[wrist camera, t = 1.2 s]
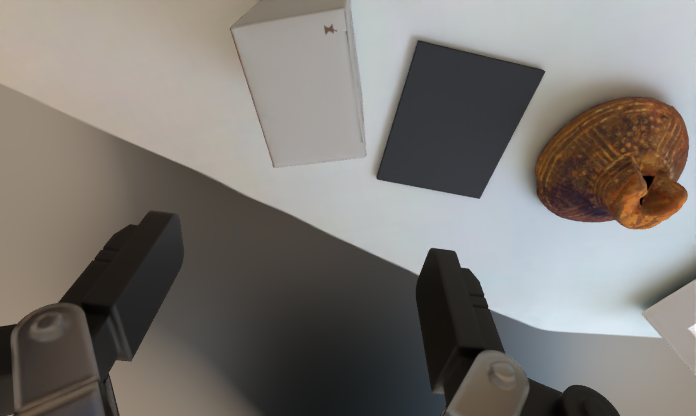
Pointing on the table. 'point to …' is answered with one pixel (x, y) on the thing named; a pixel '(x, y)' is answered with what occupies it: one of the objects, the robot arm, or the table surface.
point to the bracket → (677, 322)
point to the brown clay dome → (616, 164)
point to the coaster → (455, 119)
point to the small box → (303, 79)
